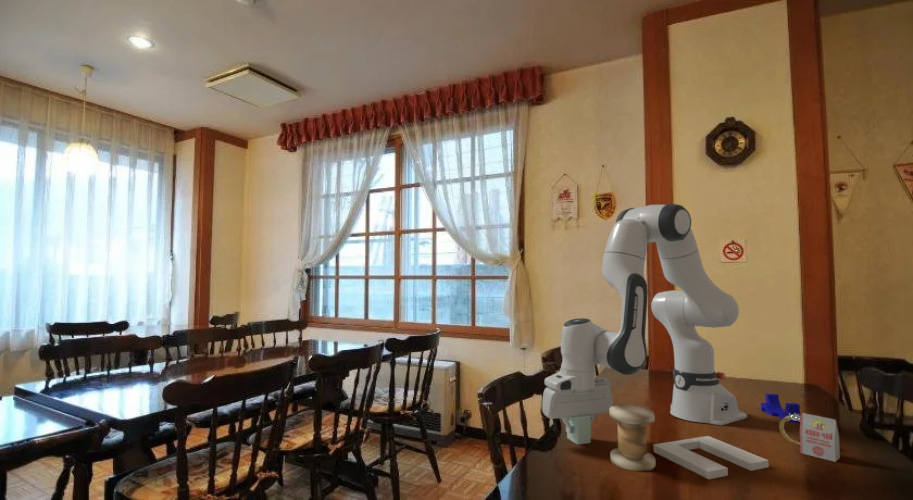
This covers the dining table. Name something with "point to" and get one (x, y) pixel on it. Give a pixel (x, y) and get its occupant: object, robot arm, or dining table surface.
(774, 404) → the cable clip
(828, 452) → the tea bag
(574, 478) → the dining table surface
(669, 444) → the u-shaped core
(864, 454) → the dining table surface
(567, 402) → the robot arm
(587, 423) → the pale green block
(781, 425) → the ring
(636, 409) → the bobbin
